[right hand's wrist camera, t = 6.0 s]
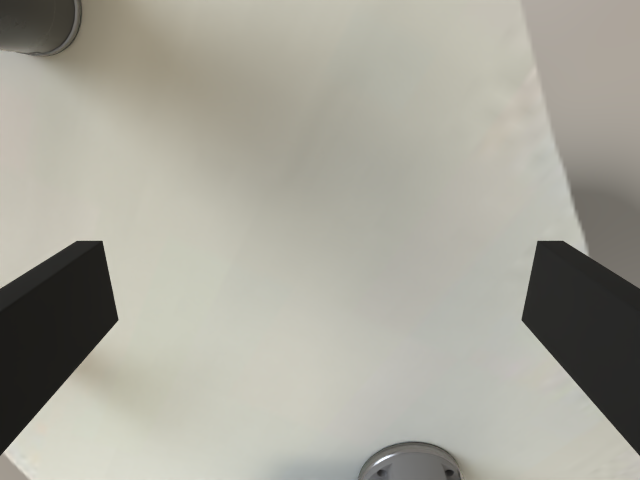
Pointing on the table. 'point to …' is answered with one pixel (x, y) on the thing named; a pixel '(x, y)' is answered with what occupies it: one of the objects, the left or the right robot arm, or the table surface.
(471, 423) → the table surface
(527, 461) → the table surface
